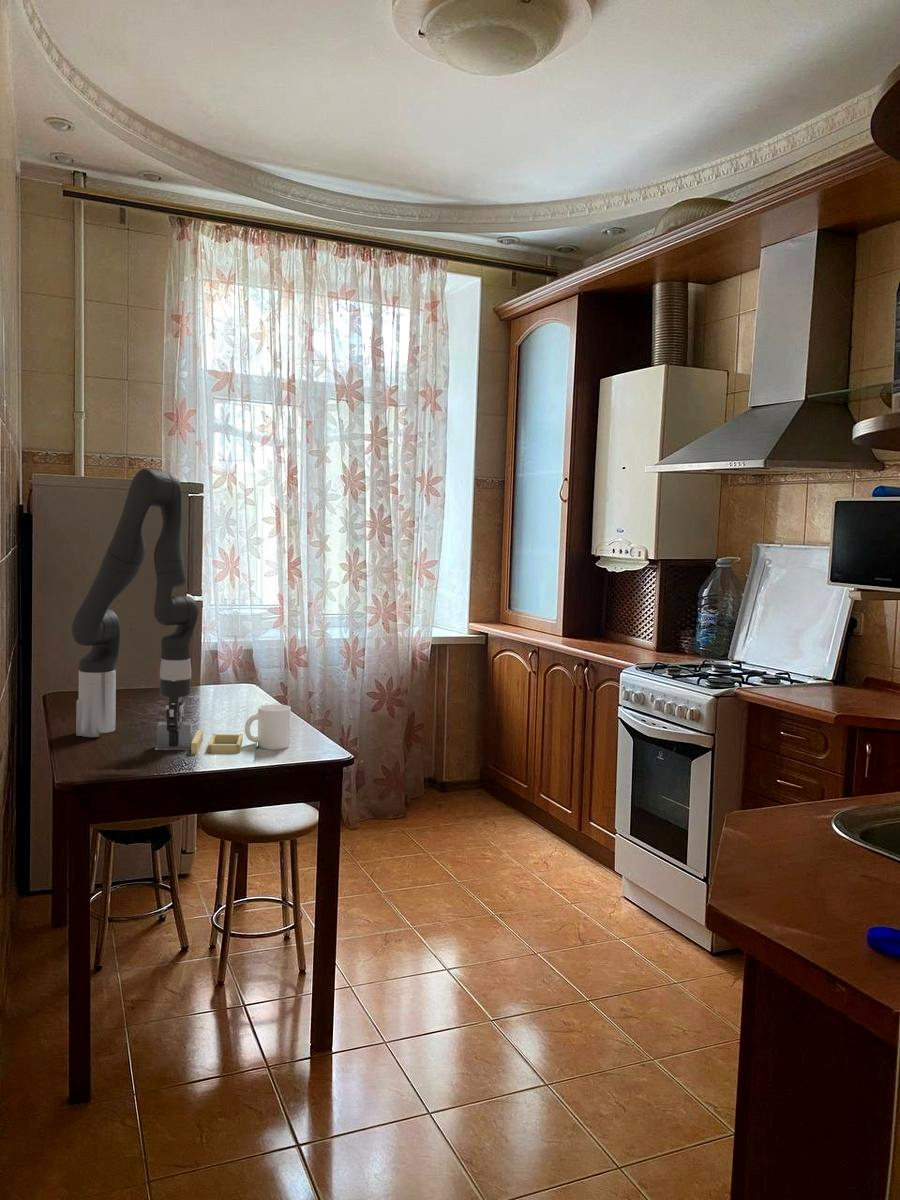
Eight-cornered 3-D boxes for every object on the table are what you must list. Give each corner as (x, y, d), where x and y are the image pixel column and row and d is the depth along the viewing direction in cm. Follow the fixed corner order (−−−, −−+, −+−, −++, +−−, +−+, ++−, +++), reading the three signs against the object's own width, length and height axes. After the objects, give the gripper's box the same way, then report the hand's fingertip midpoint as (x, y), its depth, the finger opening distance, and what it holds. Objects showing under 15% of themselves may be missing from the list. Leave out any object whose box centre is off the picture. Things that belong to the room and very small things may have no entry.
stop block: (156, 748, 231) (157, 725, 231) (159, 745, 235) (159, 721, 235) (190, 748, 232) (190, 725, 232) (192, 745, 236) (192, 721, 236)
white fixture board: (151, 758, 226) (151, 743, 226) (160, 744, 240) (160, 730, 240) (244, 758, 230) (244, 743, 230) (247, 744, 244) (247, 730, 243)
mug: (249, 753, 235) (250, 712, 234) (239, 745, 242) (239, 706, 241) (294, 748, 241) (295, 709, 240) (283, 741, 248) (283, 703, 247)
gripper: (164, 671, 239) (163, 737, 240) (155, 681, 225) (154, 751, 226) (194, 671, 240) (193, 737, 241) (187, 681, 226) (186, 751, 227)
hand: (174, 743), depth 234 cm, fingers closed on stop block, 4 cm apart
